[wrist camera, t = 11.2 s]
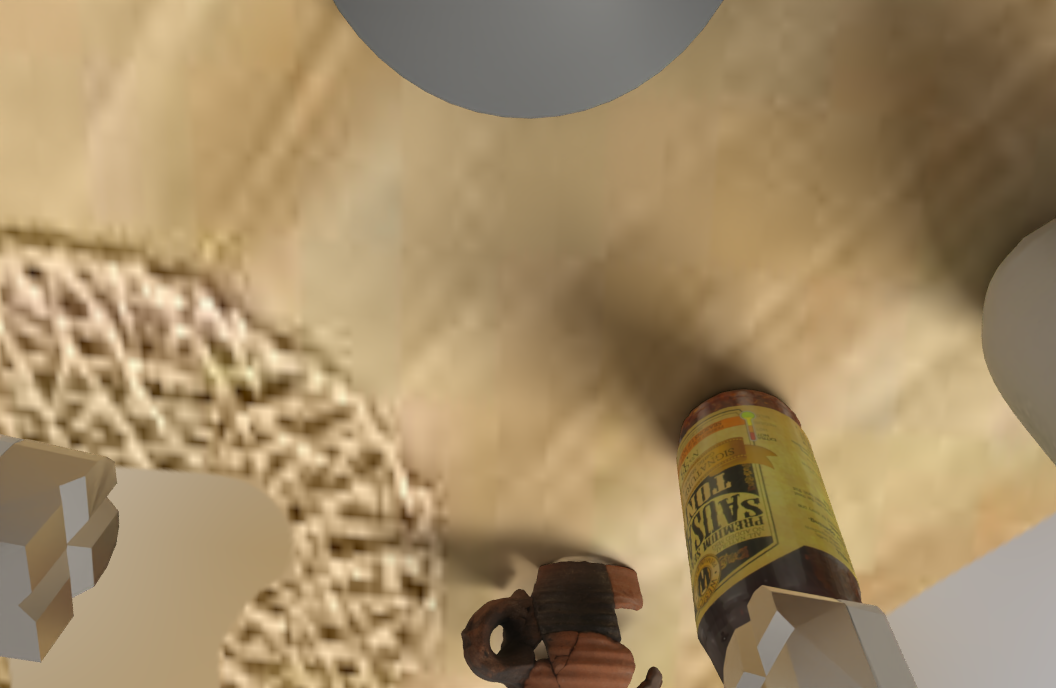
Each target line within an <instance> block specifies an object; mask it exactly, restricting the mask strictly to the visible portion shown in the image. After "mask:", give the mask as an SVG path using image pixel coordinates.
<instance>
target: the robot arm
mask: <svg viewBox="0 0 1056 688" xmlns="http://www.w3.org/2000/svg"><path fill="white" fill-rule="evenodd" d="M116 484H117V479H116V469H115V462H114V461H113V460H111V459H110V458H108V457H105V456H101V455H96V454H92V453H87V452H83V451H78V450H74V449H69V448H65V447H60V446H56V445H51V444H47V443H42V442H38V441H33V440H28V439H25V440H23V439H19V438H15V437H10V436H6V435H1V434H0V656H2V657H8V658H15V659H21V660H28V661H35V662H42V660H43V659H44V657H45V656H46V655H47V653H48V652H49V650H50V649H51V647H52V646H53V644H54V643H55V642H56V640H57V639H58V637H59V636H60V634H61V633H62V632H63V630H64V629H65V628H66V626H67V625H68V623H69V622H70V620H71V619H72V618H73V616H74V615H73V604H72V598H73V597H75V596H77V595H79V594H81V593H83V592H85V591H87V590H88V589H90V588H92V587H94V586H95V584H96V583H97V581H98V580H99V578H100V577H101V575H102V574H103V572H104V571H105V569H106V568H107V566H108V563H109V561H110V558H111V556H112V553H113V551H114V548H115V546H116V542H117V535H118V529H119V512H118V510H117V509H116V507H115V506H114V505H113V504H112V502H111V501H110V500H109V499H108V498H107V495H108V494H109V493H110V491H111V490H112V489H113V487H114V486H115V485H116ZM747 608H748V612H749V616H750V620H751V621H749V622H748V623H746V624H744V625H742V626H741V627H739V628H737V629H735V631H734V633H733V635H732V638H731V640H730V642H729V644H728V647H727V650H726V656H725V662H724V668H723V674H724V688H917V685H916V683H915V681H914V679H913V676H912V674H911V672H910V670H909V667H908V665H907V663H906V661H905V659H904V656H903V654H902V652H901V649H900V647H899V645H898V643H897V640H896V638H895V636H894V634H893V631H892V629H891V627H890V625H889V622H888V620H887V618H886V616H885V614H884V613H883V612H882V611H881V610H880V609H879V608H878V607H877V606H874V605H869V604H863V603H858V602H852V601H847V600H841V599H837V600H835V599H833V598H828V597H823V596H817V595H812V594H807V593H801V592H796V591H791V590H785V589H780V588H775V587H769V586H764V585H762V586H760V587H759V588H758V589H757V590H756V591H755V592H754V593H753V595H752V597H751V599H750V601H749V603H748V605H747Z"/></svg>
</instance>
